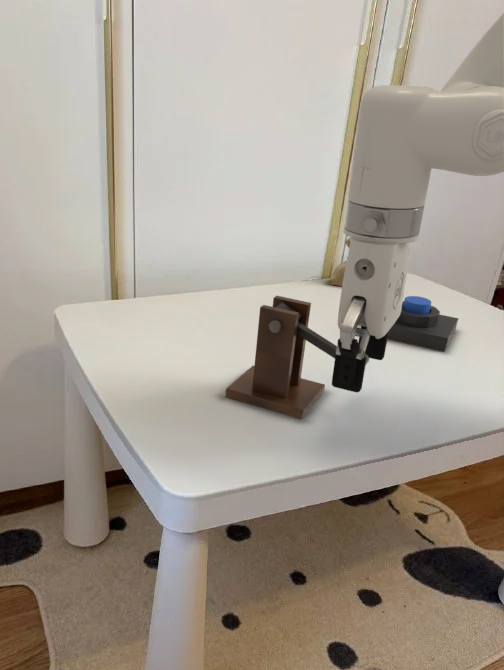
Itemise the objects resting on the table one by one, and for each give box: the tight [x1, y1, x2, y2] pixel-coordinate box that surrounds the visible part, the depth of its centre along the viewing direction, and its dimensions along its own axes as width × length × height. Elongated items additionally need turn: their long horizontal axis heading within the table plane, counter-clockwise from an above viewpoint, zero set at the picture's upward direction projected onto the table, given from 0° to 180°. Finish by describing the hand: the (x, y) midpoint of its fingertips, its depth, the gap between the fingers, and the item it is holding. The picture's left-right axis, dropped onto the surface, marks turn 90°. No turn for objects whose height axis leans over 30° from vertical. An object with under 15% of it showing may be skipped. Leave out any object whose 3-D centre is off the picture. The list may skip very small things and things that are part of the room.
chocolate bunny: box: [329, 237, 351, 287], centre depth 119 cm, size 6×8×10 cm
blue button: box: [403, 295, 432, 314], centre depth 98 cm, size 4×4×2 cm
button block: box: [387, 300, 459, 353], centre depth 99 cm, size 12×10×4 cm
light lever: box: [276, 303, 370, 367], centre depth 73 cm, size 12×5×2 cm, turn 61°
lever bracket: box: [225, 295, 326, 420], centre depth 76 cm, size 10×8×12 cm
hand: (358, 372), depth 72 cm, fingers open, 9 cm apart
